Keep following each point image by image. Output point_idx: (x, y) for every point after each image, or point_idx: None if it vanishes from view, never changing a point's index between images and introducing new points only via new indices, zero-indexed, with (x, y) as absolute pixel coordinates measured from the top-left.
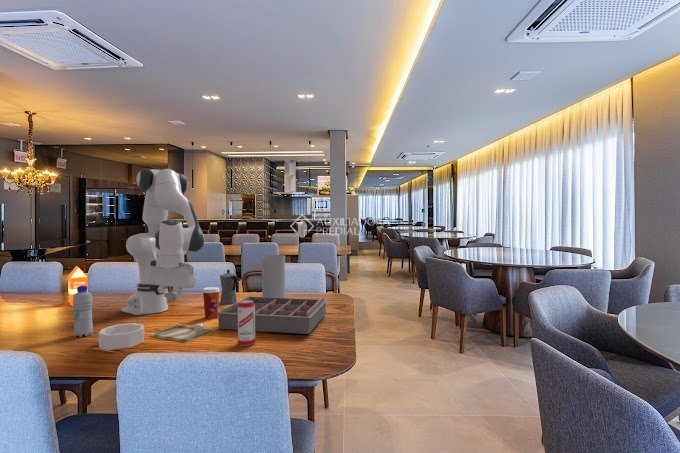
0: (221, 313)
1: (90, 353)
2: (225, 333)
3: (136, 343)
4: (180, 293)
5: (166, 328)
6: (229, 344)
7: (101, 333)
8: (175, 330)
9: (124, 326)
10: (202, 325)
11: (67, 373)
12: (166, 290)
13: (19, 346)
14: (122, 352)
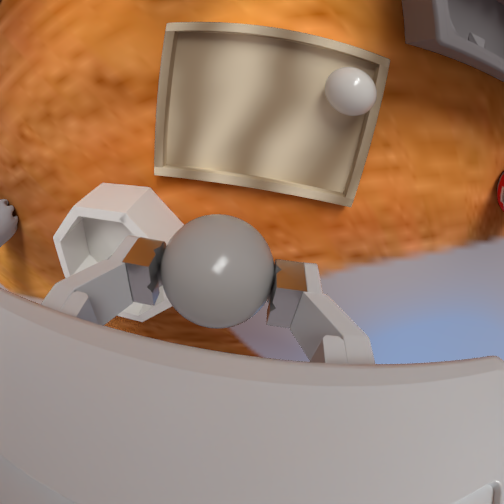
0: (466, 53)
1: None
2: (436, 72)
3: None
4: (321, 293)
5: (159, 92)
6: (476, 192)
7: None
8: (198, 73)
9: (72, 226)
10: (374, 96)
11: None
12: (110, 289)
13: (10, 283)
14: None
